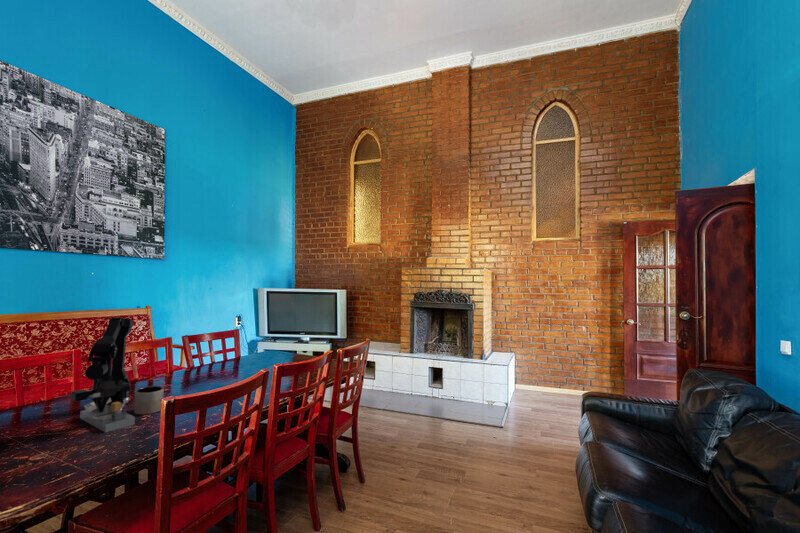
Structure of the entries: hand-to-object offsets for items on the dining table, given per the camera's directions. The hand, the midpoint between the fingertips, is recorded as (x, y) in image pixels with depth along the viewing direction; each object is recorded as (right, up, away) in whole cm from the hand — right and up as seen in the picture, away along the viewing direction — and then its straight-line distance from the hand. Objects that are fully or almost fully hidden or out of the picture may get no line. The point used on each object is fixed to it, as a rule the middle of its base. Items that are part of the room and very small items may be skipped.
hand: (100, 412), depth 155 cm
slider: (+3, -1, +5) cm, 6 cm away
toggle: (+8, 0, -2) cm, 9 cm away
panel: (+1, -4, +2) cm, 5 cm away
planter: (+9, -5, +15) cm, 19 cm away
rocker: (-6, 0, +7) cm, 9 cm away
